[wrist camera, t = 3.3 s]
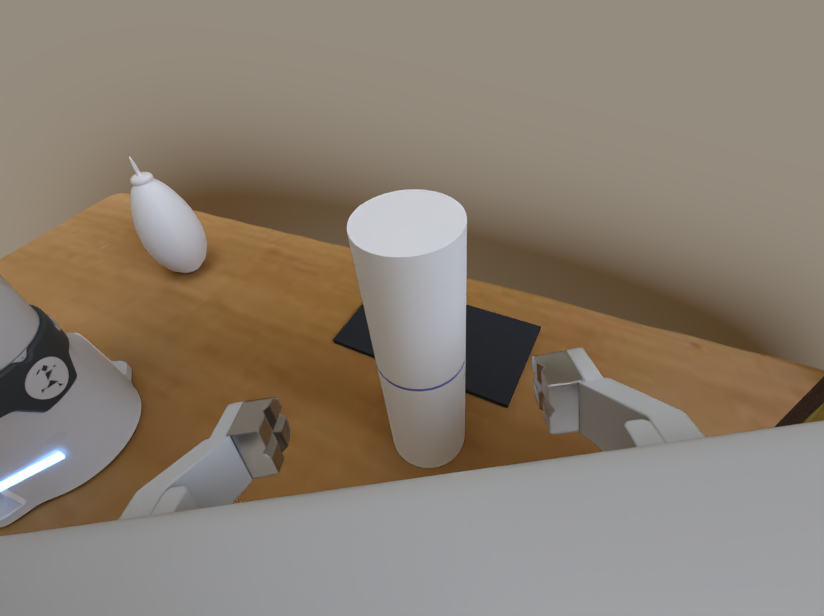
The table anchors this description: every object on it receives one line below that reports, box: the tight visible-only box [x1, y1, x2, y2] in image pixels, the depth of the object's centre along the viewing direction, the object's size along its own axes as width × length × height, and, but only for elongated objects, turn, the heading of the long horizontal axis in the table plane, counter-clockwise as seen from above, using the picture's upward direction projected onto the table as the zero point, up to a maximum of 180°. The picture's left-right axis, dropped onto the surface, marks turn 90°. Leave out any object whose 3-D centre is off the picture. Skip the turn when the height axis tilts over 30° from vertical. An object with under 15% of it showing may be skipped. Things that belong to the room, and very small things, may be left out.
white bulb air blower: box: [129, 156, 207, 273], centre depth 60 cm, size 8×8×18 cm
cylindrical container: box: [347, 189, 467, 468], centre depth 34 cm, size 7×7×25 cm
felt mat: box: [333, 305, 541, 407], centre depth 52 cm, size 22×12×1 cm, turn 62°
